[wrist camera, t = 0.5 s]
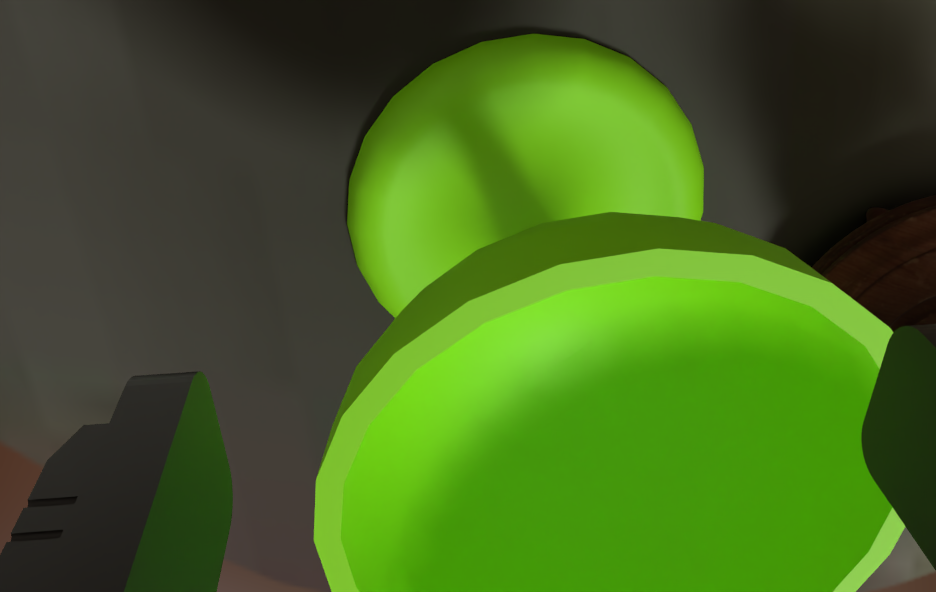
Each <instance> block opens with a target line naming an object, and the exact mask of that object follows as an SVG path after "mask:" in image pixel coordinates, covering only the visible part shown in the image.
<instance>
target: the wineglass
mask: <svg viewBox="0 0 936 592" xmlns="http://www.w3.org/2000/svg"><path fill="white" fill-rule="evenodd" d="M703 185H704V167H703V163H702V160H701V156H700V153H699V149H698V146H697V142H696V139H695V135H694V132H693V128H692V125H691V123H690V122H689V120H688V119H687V117H686V116H685V114H684V113H683V111H682V110H681V108H680V107H679V105H678V104H677V102H676V100H675V99H674V97H673V96H672V94H671V93H670V91H669V90H668V88H667V87H666V86H665V85H663V84H662V83H661V82H660V81H658V80H657V79H656V78H655V77H653V76H652V75H651V74H650V73H649V72H647V71H646V70H645V69H644V68H642V67H641V66H640V65H639V64H637V63H636V62H635V61H634V60H633V59H631V58H630V57H627V56H625V55H623V54H620V53H618V52H615V51H613V50H610V49H608V48H605V47H603V46H600V45H598V44H596V43H593V42H591V41H588V40H586V39H580V38H570V37H561V36H552V35H542V34H527V35H521V36H515V37H509V38H503V39H497V40H491V41H484V42H480V43H478V44H476V45H473V46H471V47H469V48H467V49H465V50H462V51H460V52H458V53H456V54H453V55H451V56H449V57H447V58H445V59H442V60H440V61H438V62H436V63H433V64H432V65H431V66H430V67H428V68H427V69H426V70H425V71H423V72H422V73H421V74H420V75H419V76H417V77H416V78H415V79H414V80H412V81H411V82H410V83H409V84H408V85H406V86H405V87H404V88H403V89H401V90H400V91H399V92H398V93H397V94H395V95H394V96H393V97H392V99H391V100H390V101H389V103H388V104H387V106H386V107H385V108H384V110H383V111H382V113H381V114H380V116H379V117H378V118H377V120H376V121H375V123H374V124H373V125H372V127H371V128H370V130H369V131H368V132H367V134H366V135H365V137H364V140H363V143H362V145H361V148H360V151H359V154H358V157H357V160H356V162H355V165H354V168H353V171H352V174H351V177H350V179H349V195H348V215H347V226H348V230H349V234H350V238H351V242H352V246H353V250H354V254H355V259H356V263H357V266H358V268H359V269H360V271H361V273H362V274H363V276H364V278H365V280H366V281H367V283H368V285H369V286H370V288H371V290H372V292H373V293H374V295H375V297H376V298H377V300H378V302H379V303H380V304H381V305H382V306H383V307H384V308H385V309H386V310H387V311H388V312H389V313H390V314H392V315H393V316H394V317H395V320H394V321H393V322H392V323H391V325H390V326H389V327H388V328H387V330H386V331H385V332H384V333H383V334H382V336H381V337H380V338H379V339H378V341H377V342H376V343H375V344H374V345H373V347H372V348H371V349H370V350H369V352H368V353H367V354H366V355H365V357H364V358H363V359H362V360H361V361H360V363H359V364H358V365H357V366H356V369H355V371H354V374H353V376H352V379H351V381H350V383H349V386H348V388H347V391H346V393H345V396H344V398H343V401H342V403H341V406H340V408H339V411H338V413H337V416H336V418H335V420H334V423H333V425H332V429H331V432H330V435H329V439H328V442H327V445H326V448H325V452H324V455H323V458H322V462H321V465H320V468H319V472H318V475H317V478H316V493H315V521H314V542H315V545H316V548H317V551H318V554H319V557H320V560H321V562H322V565H323V568H324V571H325V574H326V577H327V580H328V582H329V585H330V588H331V591H332V592H856V590H857V589H858V588H859V587H860V586H861V585H862V584H863V583H864V582H865V581H866V580H867V579H868V577H869V576H870V575H871V574H872V573H873V572H874V571H875V570H876V569H877V568H878V567H879V566H880V564H881V563H882V562H883V561H884V560H885V559H886V558H887V557H888V556H889V555H890V553H891V551H892V550H893V548H894V546H895V544H896V542H897V541H898V539H899V537H900V535H901V533H902V532H903V530H904V528H905V525H904V523H903V522H902V520H901V519H900V518H899V516H898V515H897V513H896V512H895V510H894V509H893V507H892V506H891V504H890V503H889V501H888V500H887V499H886V497H885V496H884V494H883V493H882V491H881V490H880V488H879V487H878V485H877V484H876V482H875V481H874V480H873V478H872V476H871V475H870V473H869V470H868V468H867V466H866V463H865V460H864V456H863V451H862V442H861V433H862V426H863V422H864V418H865V415H866V412H867V409H868V406H869V402H870V399H871V396H872V393H873V389H874V386H875V383H876V380H877V377H878V373H879V370H880V367H881V364H882V361H883V357H884V354H885V351H886V348H887V344H888V342H889V339H890V337H891V336H892V334H893V331H892V330H891V328H890V327H889V326H887V325H886V324H885V323H883V322H882V321H881V320H879V319H878V318H877V317H876V316H874V315H873V314H872V313H870V312H869V311H868V310H866V309H865V308H864V307H863V306H861V305H860V304H859V303H857V302H856V301H855V300H853V299H852V298H851V297H850V296H848V295H847V294H846V293H844V292H843V291H842V290H840V289H839V288H838V287H836V286H835V285H834V284H833V283H831V282H830V281H829V280H827V279H826V278H825V277H823V276H822V275H821V274H819V273H818V272H817V271H815V270H814V269H813V268H811V267H810V266H808V265H807V264H806V263H804V262H803V261H802V260H800V259H799V258H798V257H796V256H795V255H794V254H792V253H791V252H790V251H788V250H787V249H786V248H783V247H780V246H777V245H775V244H772V243H769V242H766V241H763V240H761V239H758V238H755V237H752V236H749V235H747V234H744V233H741V232H738V231H736V230H733V229H730V228H727V227H724V226H722V225H719V224H716V223H711V222H705V221H700V220H701V217H702V214H703Z"/></svg>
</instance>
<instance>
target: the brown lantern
mask: <svg viewBox="0 0 936 592" xmlns="http://www.w3.org/2000/svg"><path fill="white" fill-rule="evenodd" d="M866 219H867V222H866V223H865V224H863V225H862V226H860V227H859V228H857V229H856V230H854V231H852V232H851V233H850V234H848V235H847V236H846V237H844V238H843V239H842V240H840V241H839V242H838V243H837V244H835V245H834V246H833V247H832V248H831V249H830V250H829V251H827V252H826V253H825V254H824V255H823V256H822V257H821V258H820V259H819V260H818V261H817V262H816V263H815V264H814V265H813V266H812V268H813V269H814V270H815V271H817V272H818V273H819V274H821V275H822V276H823V277H825V278H826V279H827V280H829V281H830V282H831V283H833V284H834V285H835V286H836V287H838V288H839V289H840V290H842V291H843V292H844V293H846V294H847V295H848V296H850V297H851V298H852V299H853V300H855V301H856V302H857V303H859V304H860V305H861V306H863V307H864V308H865V309H866V310H868V311H869V312H870V313H872V314H873V315H874V316H876V317H877V318H878V319H879V320H881V321H882V322H883V323H885V324H886V325H887V326H889V327H890V328H891V330H892V331H893V333H894V332H895V331H896V330H897V329H898V328H900V327H903V326H912V325H927V324H936V195H933V196H929V197H925V198H922V199H918V200H915V201H912V202H909V203H907V204H904V205H901V206H898V207H896V208H894V209H892V210H890V211H889V210H887V209H884V208H878V207H872V208H870V209H868V211H867V212H866Z"/></svg>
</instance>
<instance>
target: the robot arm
mask: <svg viewBox="0 0 936 592" xmlns="http://www.w3.org/2000/svg"><path fill="white" fill-rule="evenodd" d="M861 442H862V451H863V456H864V460H865V463H866V466H867V468H868V470H869V473H870V475H871V476H872V478H873V480H874V481H875V482H876V484H877V485H878V487H879V488H880V490H881V491H882V493H883V494H884V496H885V497H886V499H887V500H888V501H889V503H890V504H891V506H892V507H893V509H894V510H895V512H896V513H897V515H898V516H899V518H900V519H901V520H902V522H903V523H904V525H905V526H906V528H907V529H908V531H909V532H910V534H911V535H912V537H913V538H914V539H915V541H916V542H917V544H918V545H919V547H920V548H921V550H922V551H923V553H924V554H925V556H926V557H927V558H928V560H929V561H930V563H931V564H932V566H933V567H934V569H935V570H936V324H927V325H912V326H903V327H900V328H898V329H897V330H896V331H895V332H894V333H893V334H892V336H891V337H890V339H889V342H888V344H887V348H886V351H885V354H884V357H883V361H882V364H881V367H880V370H879V373H878V377H877V380H876V383H875V386H874V389H873V393H872V396H871V399H870V402H869V406H868V409H867V412H866V415H865V418H864V422H863V426H862V433H861ZM232 504H233V493H232V479H231V472H230V468H229V463H228V459H227V455H226V451H225V447H224V443H223V439H222V435H221V431H220V427H219V423H218V419H217V415H216V411H215V407H214V403H213V399H212V395H211V391H210V387H209V383H208V381H207V378H206V377H205V375H204V374H203V373H202V372H186V373H171V374H157V375H142V376H133V377H131V378H130V379H129V381H128V382H127V384H126V386H125V388H124V390H123V393H122V395H121V397H120V400H119V402H118V404H117V407H116V409H115V411H114V414H113V416H112V418H111V421H110V423H109V424H95V425H83V426H82V427H81V428H80V429H79V430H78V431H77V432H76V433H75V434H74V435H73V436H72V437H71V438H70V439H69V440H68V441H67V442H66V443H65V444H64V445H63V446H62V447H61V448H60V449H59V450H58V451H56V452H55V453H54V454H53V455H52V456H51V457H50V458H49V459H48V460H47V462H46V464H45V466H44V468H43V470H42V472H41V474H40V476H39V478H38V480H37V482H36V484H35V486H34V488H33V491H32V492H31V494H30V497H29V498H28V507H27V508H23V511H22V513H21V514H20V516H19V519H18V520H17V522H16V525H15V527H14V528H13V530H12V532H11V536H12V538H11V542H7V543H6V545H5V547H4V549H3V551H2V553H1V555H0V592H216V591H217V586H218V582H219V577H220V572H221V568H222V563H223V558H224V553H225V549H226V544H227V539H228V535H229V530H230V525H231V518H232Z"/></svg>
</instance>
